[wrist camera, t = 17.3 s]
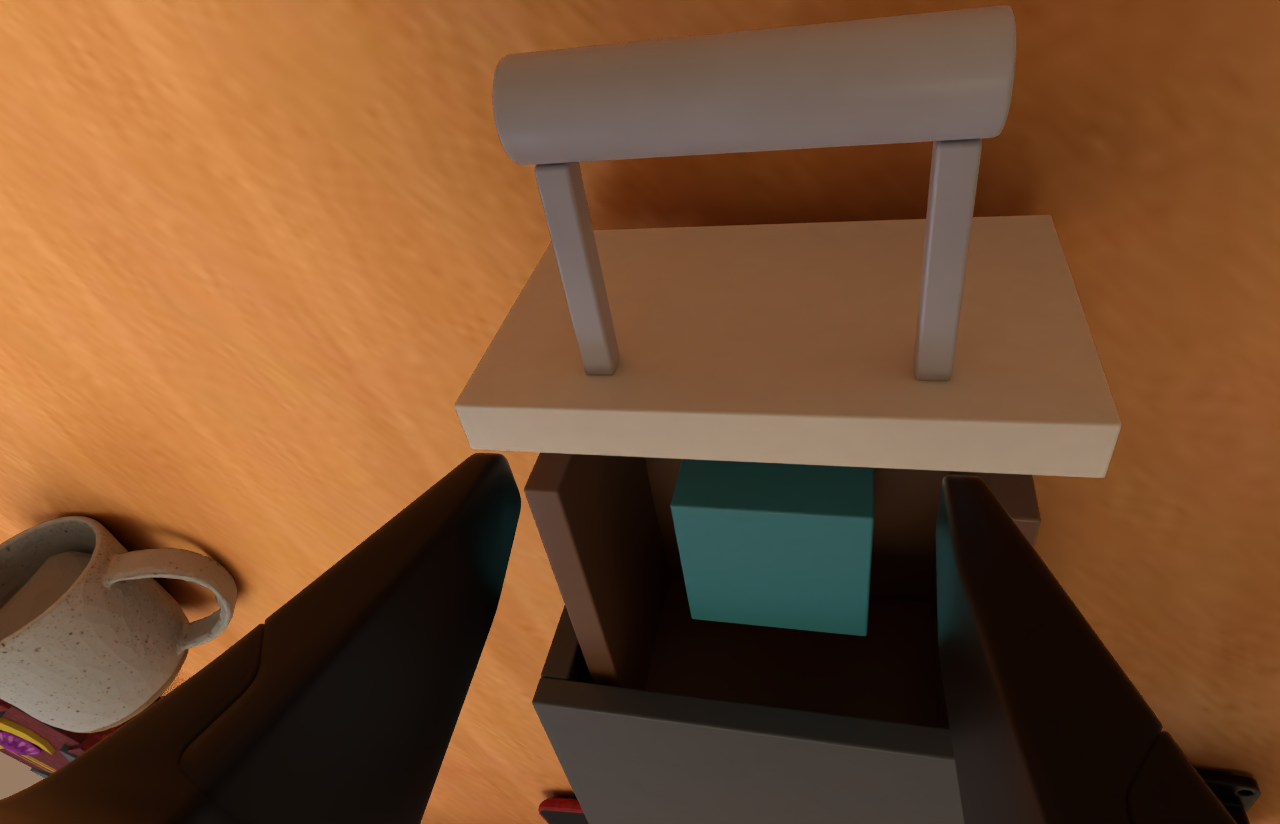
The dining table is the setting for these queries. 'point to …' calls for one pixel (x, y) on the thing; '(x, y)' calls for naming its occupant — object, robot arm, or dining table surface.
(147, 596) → the ceramic mug
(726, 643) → the drawer
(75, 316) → the dining table surface
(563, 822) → the smartphone
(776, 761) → the cabinet
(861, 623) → the block
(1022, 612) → the robot arm
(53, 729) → the decorative book
